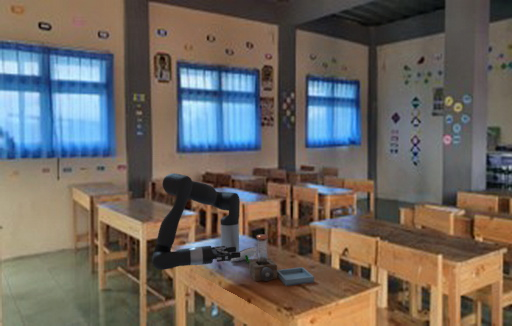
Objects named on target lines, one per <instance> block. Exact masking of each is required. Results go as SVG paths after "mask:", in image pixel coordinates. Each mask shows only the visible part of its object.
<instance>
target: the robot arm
mask: <svg viewBox="0 0 512 326" xmlns="http://www.w3.org/2000/svg"><path fill="white" fill-rule="evenodd" d="M162 188H163V190H164V192H165V193H167V194H168V195H171V196H174V197H175V201H174V205H173V207H172V208H171V210H169V212H168V213H167V214H166V216H165V217H164V218H163V220H162V221H161V224H160V226H159V229H158V230H159V231H158V234H157V238H156V244H155V246H154V248H153V249H154V250H153V253H152V257H151V261H152V265H153V267H154V268H155V269H157V270H159V271H160V270H163V271H164V270H170V269H174V268H177V267H185V266H201V265H211V264H213V261H214V260H216V262H230V261H231V259H232V258H240V228H239V227H240V226H239V225H240V224H239V223H240V222H239V220H240V208H241V207H240V206H241V205H240V196H239V194H238V193H236V192H226V191H217V190H216V188H214V186H212V185H209V184H207V183H204V182H201V181H194V180H192V178H191V177H190V176H189V175H188V176H187V175H185V174H181V173H169V174H166V175H165V177H164V178H163V180H162ZM189 200H191V201H194V202H197V203H200V204H202V205H207V206H212V207H215V208H216V209H218V210H221V211H228V215H226V216H222V217H221V218H220V222H219V223H220V245H219V246H211V245H202V246H193V247H188V248H179V249H177V250H174V251H172V246H173V245H174V243H175V238H176V235H177V231H178V226H179V223H180V221H181V218H182V215H183V213H184V211H185V207H186V206H187V202H188V201H189Z"/></svg>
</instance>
